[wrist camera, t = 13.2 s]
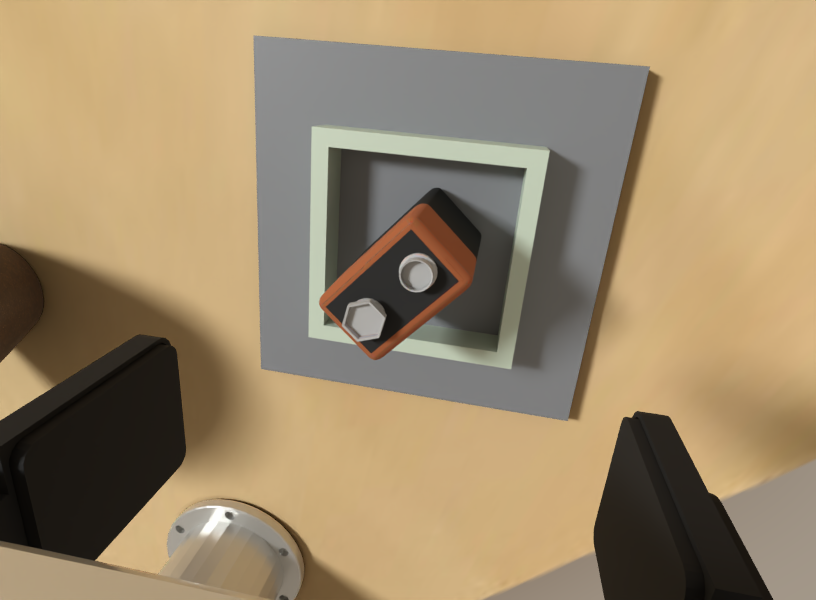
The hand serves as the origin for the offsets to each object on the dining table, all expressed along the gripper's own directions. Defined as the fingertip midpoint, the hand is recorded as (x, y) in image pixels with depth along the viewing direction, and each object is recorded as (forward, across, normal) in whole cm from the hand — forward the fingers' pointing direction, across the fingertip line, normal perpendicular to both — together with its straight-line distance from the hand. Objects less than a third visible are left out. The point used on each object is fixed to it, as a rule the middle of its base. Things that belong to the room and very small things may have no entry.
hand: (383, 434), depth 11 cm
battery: (+23, +3, +2) cm, 23 cm away
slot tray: (+24, +2, +2) cm, 24 cm away
